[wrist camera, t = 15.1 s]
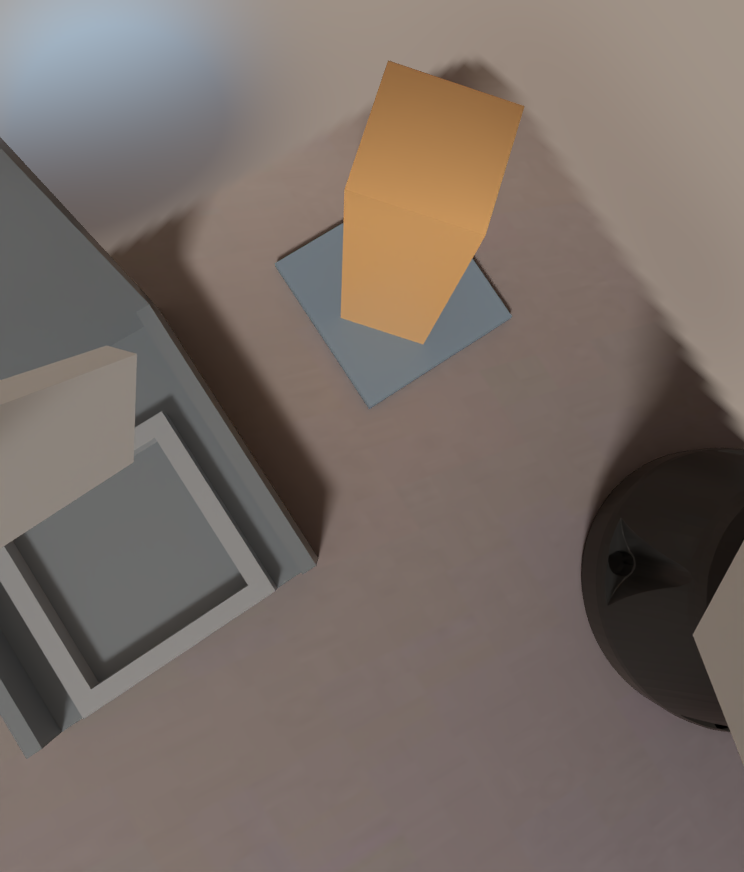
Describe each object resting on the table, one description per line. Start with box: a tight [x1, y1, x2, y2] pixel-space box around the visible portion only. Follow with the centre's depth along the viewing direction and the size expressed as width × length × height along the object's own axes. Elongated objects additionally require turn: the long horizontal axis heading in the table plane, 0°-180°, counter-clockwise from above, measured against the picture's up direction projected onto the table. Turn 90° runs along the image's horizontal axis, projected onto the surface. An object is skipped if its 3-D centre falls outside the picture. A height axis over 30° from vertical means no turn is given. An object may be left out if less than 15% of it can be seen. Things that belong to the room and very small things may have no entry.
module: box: [341, 61, 524, 344], centre depth 27 cm, size 5×5×14 cm
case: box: [0, 138, 318, 759], centre depth 23 cm, size 18×16×18 cm
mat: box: [275, 223, 512, 409], centre depth 34 cm, size 10×10×1 cm
